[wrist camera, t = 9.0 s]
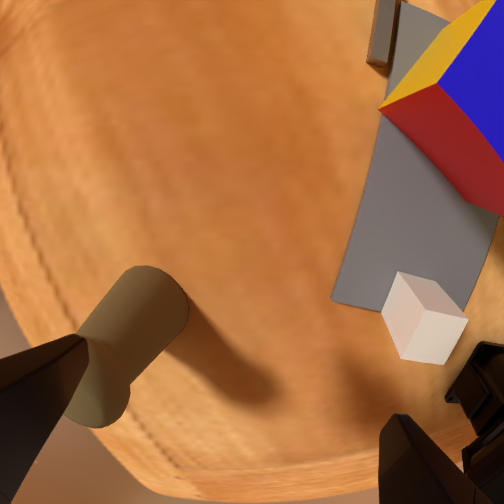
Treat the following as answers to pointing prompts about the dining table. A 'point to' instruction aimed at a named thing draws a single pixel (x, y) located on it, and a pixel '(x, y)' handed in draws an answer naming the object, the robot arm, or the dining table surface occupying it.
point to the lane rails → (381, 32)
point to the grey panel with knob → (413, 228)
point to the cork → (125, 341)
